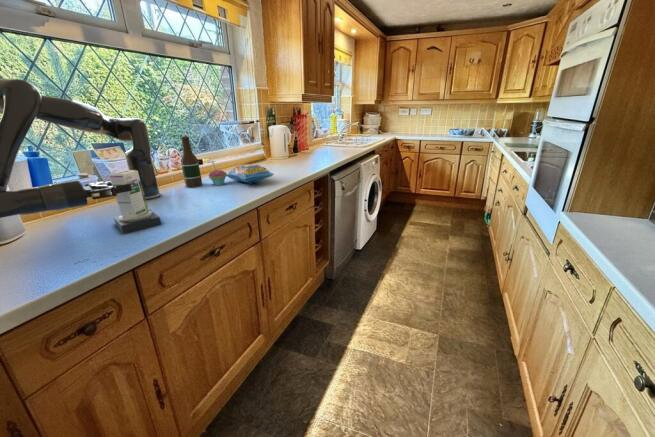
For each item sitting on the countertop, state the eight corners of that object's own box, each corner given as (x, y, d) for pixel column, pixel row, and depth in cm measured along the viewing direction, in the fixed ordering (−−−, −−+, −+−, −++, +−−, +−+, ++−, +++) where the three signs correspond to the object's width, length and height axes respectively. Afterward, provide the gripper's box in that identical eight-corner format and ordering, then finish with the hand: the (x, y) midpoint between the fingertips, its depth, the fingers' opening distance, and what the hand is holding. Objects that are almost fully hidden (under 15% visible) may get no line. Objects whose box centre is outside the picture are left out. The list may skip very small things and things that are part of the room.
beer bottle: (205, 184, 153) (197, 135, 144) (193, 188, 146) (183, 137, 138) (194, 183, 156) (185, 135, 148) (182, 187, 149) (171, 137, 141)
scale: (115, 224, 102) (112, 215, 101) (151, 216, 109) (149, 207, 108) (123, 233, 94) (120, 223, 92) (161, 224, 101) (159, 214, 99)
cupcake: (206, 185, 150) (202, 161, 146) (218, 181, 158) (214, 158, 154) (220, 186, 147) (216, 162, 143) (231, 182, 155) (228, 159, 151)
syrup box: (135, 217, 97) (123, 173, 92) (120, 217, 99) (107, 173, 94) (149, 212, 103) (138, 169, 98) (134, 211, 104) (123, 169, 99)
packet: (245, 189, 141) (243, 171, 138) (226, 181, 158) (223, 165, 155) (277, 183, 151) (276, 166, 148) (256, 176, 168) (254, 160, 165)
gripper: (61, 186, 81) (130, 176, 91) (57, 179, 91) (120, 170, 101) (70, 213, 83) (136, 200, 94) (65, 203, 93) (126, 192, 103)
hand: (128, 185), depth 97 cm, fingers open, 8 cm apart
